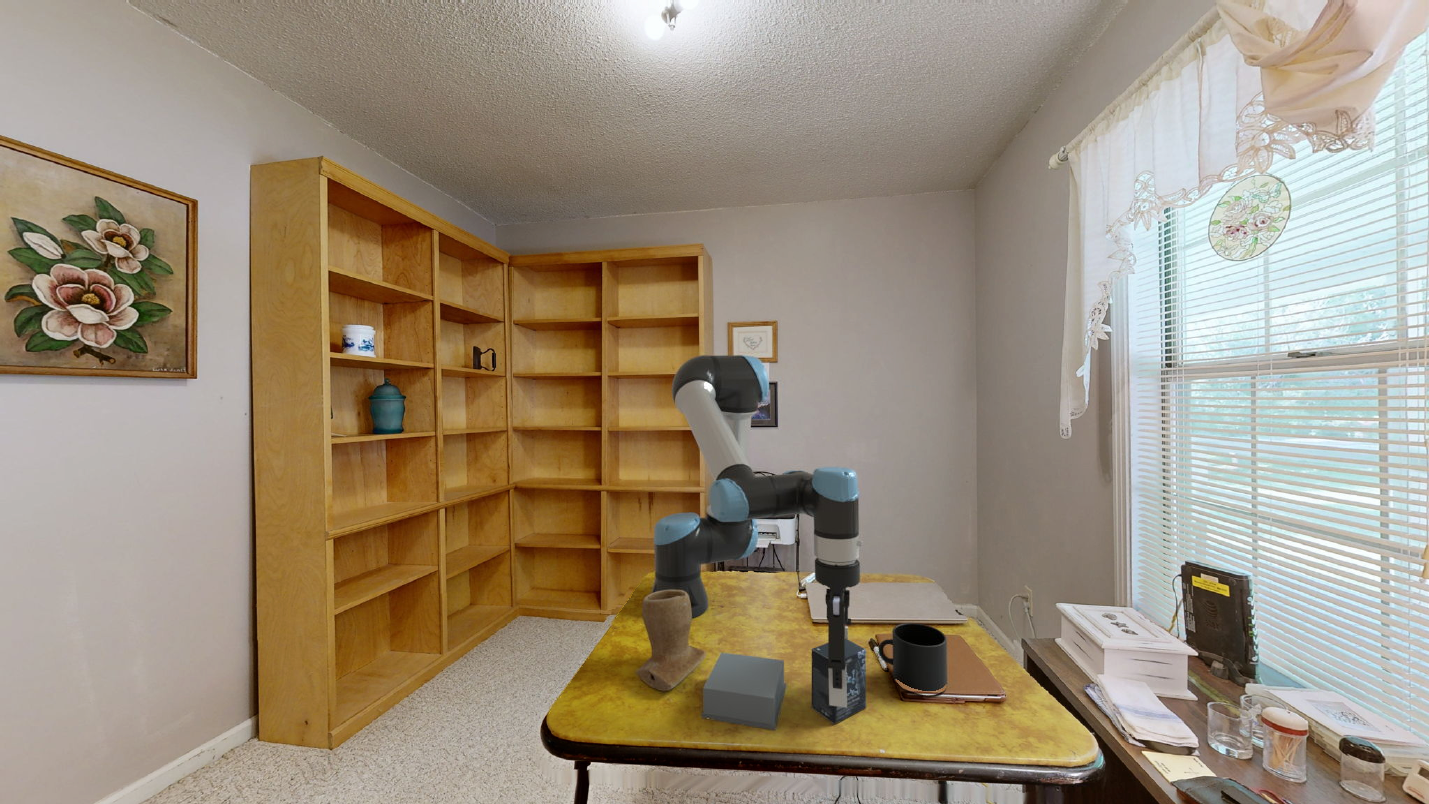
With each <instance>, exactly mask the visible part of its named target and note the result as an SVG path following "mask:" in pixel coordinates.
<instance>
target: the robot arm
mask: <svg viewBox="0 0 1429 804" xmlns="http://www.w3.org/2000/svg"><path fill="white" fill-rule="evenodd" d="M769 390H770V382H769V375H768V372H767V369H766V368H765V365H764V364H763V362H762V360H761V359H759V358H758V357H757V356H751V355H744V354H742V355H741V354H737V355H736V354H732V355H729V354H728V355H709V354H707V355H706V354H704V355H696V356H694V357H691V358H690V359H688V360H686V361H685V362H683V364H682V365H681V366H680V367H679V369H678V370H677V371H676V373H675V375H674V377H673V380H672V384H671V396H672V400H673V403H674V405H675V408H676V409H677V410H678V411H679V412H680V413H681V414H683V415H684V416H685V419H686V421H687V423H688V425H689V429H690V430H691V432H692V435H693V437H694V440H695V441H696V443H697V446H698V449H699V450H700V452H701V455H702V457H703V460H704V462H705V464H706V467H707V469H708V471H709V473H710V475H711V478H712V480H713V482H712V483H711V485H710V488H709V493H708V497H709V498H708V500H709V501H708V502H709V505H708V506H707V507H706V513H705V514H706V516H705V517H700V515H699V514H698V513H696V512H692V511H691V512H679V513H673V514H670V515H667V516H664V517H662V518H661V519H659V520H658V521H656V523H655V525H654V532H653V533H654V537H653V543H654V544H653V545H654V546H653V548H654V581H653V585H652V588H651V592H650V594H651V593H654V592H657V591H663V590H683V591H685V592H687V594H688V595H689V598H690V603H691V611H692V619H694V618H697V617H699V616H701V615H703V614H705V613H706V611H708V608H709V597H708V594H707V591H706V589H705V586H704V583H703V579H702V577H701V575H702V574H701V566H702V565H707V564H714V563H719V562H728V561H737V560H740V559H744V558H748V557H749V556H751V555H752V554H753V553H754V552H755V550H756V548H757V545H758V540H759V530H758V528H757V527H758V521H757V520H756V519H758V520H759V519H763V518H774V517H776V518H777V517H782V516H790V515H801V514H803V515H806V516H809V517H811V518H813V550H814V551H813V553H814V556H815V559H814V579H815V580H816V582H817V583H819V584H820V585H821V586H824V587H825V586H826V587H827V588H826V591H825V592H826V593H825V605H826V621H827V622H828V628H827V630H828V631H827V632H828V639H827V640H828V641H827V643H828V661H824V666H828V668H829V705H831V706H839V707H846V708H847V683H846V662H845V638H846V639H847V640H849V628H848V627H849V626H852V618H850V617H849V608H850V597H851V594H850V590H849V589H847V588H853V587H856V586H857V585H859V583H860V581H861V568H860V567H861V565H860V561H859V558H860V548H859V547H862V546H863V545H864V542H863V540H862V539H859V538H860V537H859V530H860V521H859V519H860V516H859V515H860V514H859V510H860V509H859V508H860V506H859V496H860V492H859V488H858V484H859V483H858V475H857V473H856V471H855V470H854V469H852V468H849V467H845V466H844V467H842V466H841V467H840V466H823V467H821V466H820V467H818V468H815V469H814V470H813V473H809V472H807V471H804V470H794V469H793V470H787V471H785V472H784V473H782V474H773V475H762V476H758V475H757V476H756V475H755V472H754V471H753V469H752V467H751V466H750V464H749V455H750V440H751V430H752V429H751V426H752V418H753V416H755V415H756V413H757V412H758V411H759V403H762V402H765V400H767V398H768V395H769Z"/></svg>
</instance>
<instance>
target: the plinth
mask: <svg viewBox="0 0 1429 804" xmlns="http://www.w3.org/2000/svg"><path fill="white" fill-rule="evenodd" d="M786 688H787V683H786V682H785V660H783V659H776V658H768V657H761V656H753V655H744V654H737V653H729V652H721V653H720V655H719V656H718V658H717V660H716V662H715V663H714V666H713V668H712V670H711V672H710V674H709V675H708V678H707V680H706V681H705V683H704V685H703V687H702V693H703V694H702V701H703V703H702V704H703V706H702V708H703V710H702V712H701V714H700V715H701V717H702V718H701V719H705V718H709V719H708V720H711V719H713V720H712V721H718V722H724V723H729V724H735V725H741V726H747V727H752V728H753V727H754V728H759V729H760V728H761V729H767V730H771V731H776V729H777V725H778V721H779V717H780V713H781V709H782V705H783V701H784V696H785V693H786Z"/></svg>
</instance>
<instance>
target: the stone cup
mask: <svg viewBox="0 0 1429 804" xmlns="http://www.w3.org/2000/svg"><path fill="white" fill-rule="evenodd" d="M641 605H642V606H641V607H642V609H641V611H642V621H643V625H644V628H645V629H646V633H647V636H648V640H649V642H650V648H651V654H650V655H651V656H650V657H649V658H648V659H647V660H646V661H645V662H644V663H643V664H642V665H641V666H640V667H639V668H638V669H636V675H637V676H638V677H640V679H642V681H643V683H644V682H645V683H646V684H647V686H650V687H651V688H653V689H655V690H658V691H662V692H665V691H666V692H668V691H671V690H672V689H673V688H676V686H678V685H679V684H681V682H682V681H683V680H685V679H686V678H687V677H688V676H689V675H690V674H691V673H693V671H694V670H696V668H698V666H699V665H700V664H701V663H703V661H704V659H705V658H706V656H707V655H706V651H705V650H702V649H700V648H699V647H695V646H692V645H690V644H689V638H690V631H691V626H692V619H693V618H692V611H691V603H690V598H689V595H688V594H687V592H685V591H683V590H663V591H657V592H654V593H651V592H650V593H649V594H648V595H646V596H645V597H644V598H643V601H642V604H641Z"/></svg>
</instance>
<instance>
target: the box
mask: <svg viewBox="0 0 1429 804" xmlns="http://www.w3.org/2000/svg"><path fill="white" fill-rule="evenodd" d="M866 651H867V650H866V648H864V647H862V646H860V645H858V644H856V643H855V642H853V641H851V640H849V639H848V640H847V639H846V638H845V662H846V683H847V708H846V707H839V706H831V705H829V668H828V666H824V661H828V642H826V643H824V644H821V645H818V646H815V647H813V648H811V708H812V709H813V710H814V711H815V712H816V713H818V714H819V715H821V716H822V717H823V718H825V719H826V720H828V721H829V722H830V723H832V724H833V725H836V724H838V723H839V722H842V721H843V720H846V719H847V718H849V717H851V716H853V715H855V714H856V713H857V714H858V713H859V712H860V711H863V710H865V709H866V708H867V687H866V686H867V685H866V683H867V682H866V681H867V680H866V679H867V678H866V677H867V676H866V675H867V674H866V672H867V671H866V670H867V669H866V664H867V662H866V661H867V657H866V654H867V652H866Z"/></svg>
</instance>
